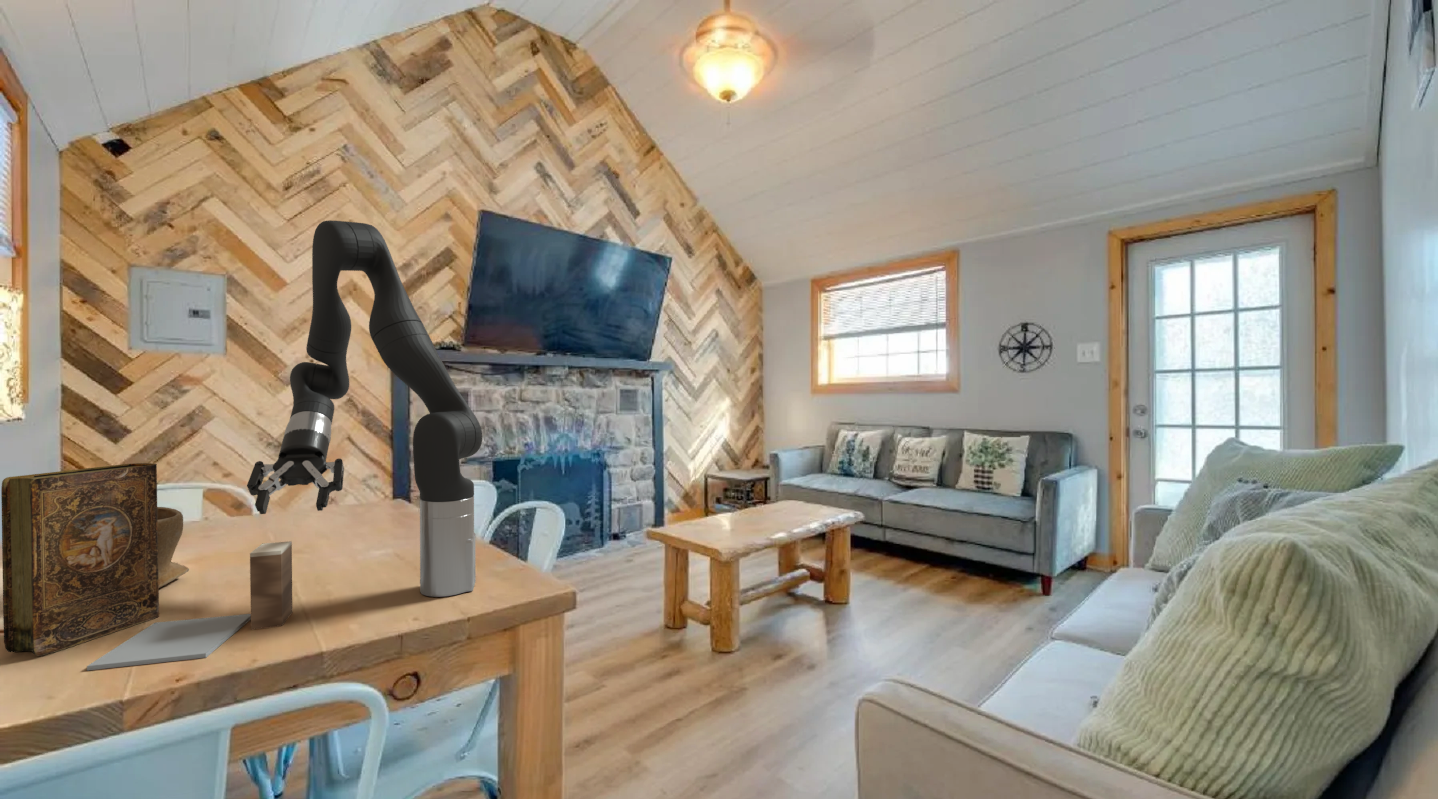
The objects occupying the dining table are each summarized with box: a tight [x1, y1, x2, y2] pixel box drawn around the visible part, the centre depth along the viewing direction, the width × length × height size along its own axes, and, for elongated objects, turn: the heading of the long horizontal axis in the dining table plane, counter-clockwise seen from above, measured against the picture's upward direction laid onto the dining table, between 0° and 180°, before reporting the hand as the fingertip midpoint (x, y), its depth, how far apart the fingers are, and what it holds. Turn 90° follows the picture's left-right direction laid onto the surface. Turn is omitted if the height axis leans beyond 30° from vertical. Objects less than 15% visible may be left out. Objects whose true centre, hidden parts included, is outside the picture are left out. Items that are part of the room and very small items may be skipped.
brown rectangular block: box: [249, 540, 293, 631], centre depth 96 cm, size 4×6×12 cm, turn 23°
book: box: [0, 462, 160, 657], centre depth 90 cm, size 16×6×25 cm, turn 168°
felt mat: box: [86, 613, 251, 671], centre depth 88 cm, size 13×15×1 cm
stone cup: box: [157, 506, 190, 589], centre depth 110 cm, size 15×12×15 cm
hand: (291, 510), depth 106 cm, fingers open, 8 cm apart
